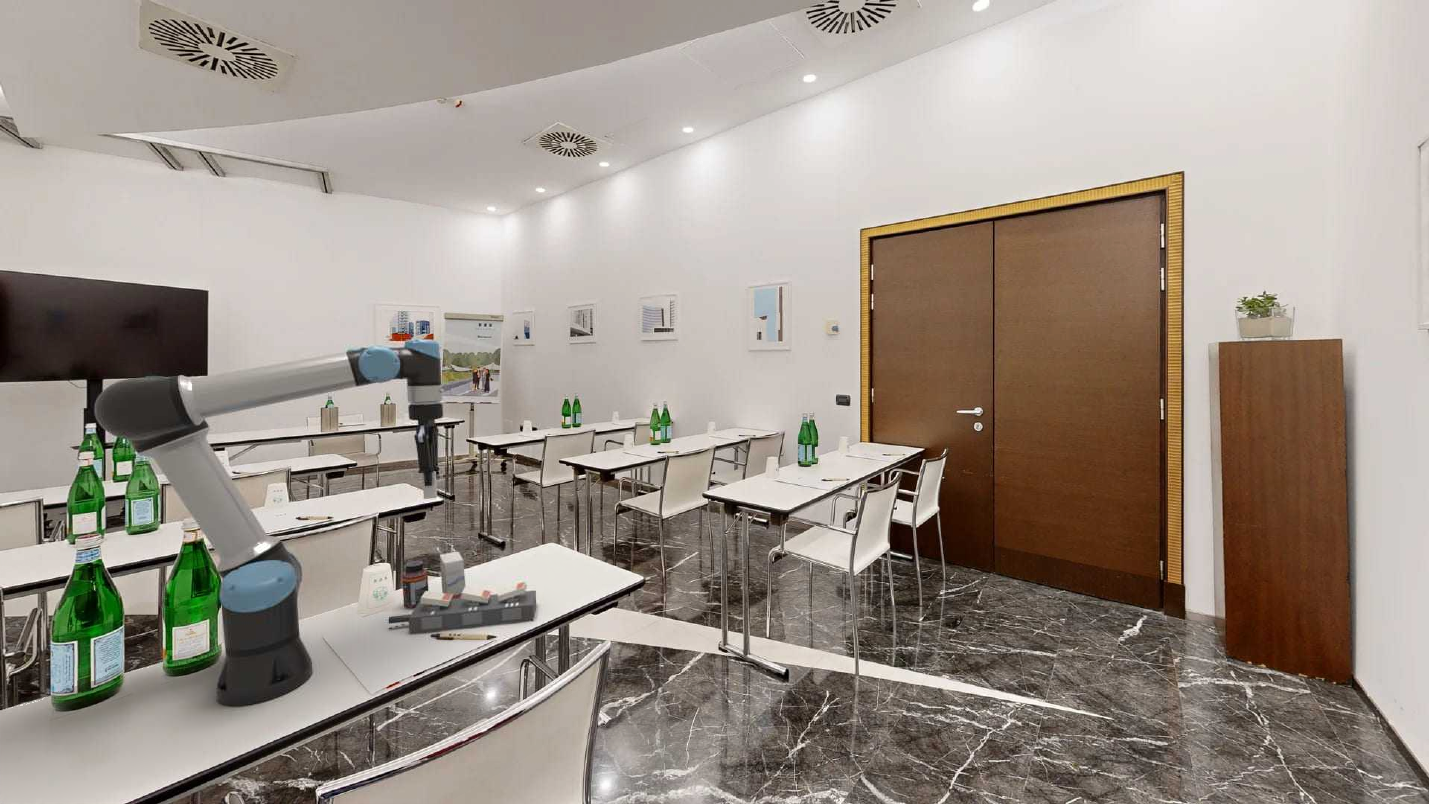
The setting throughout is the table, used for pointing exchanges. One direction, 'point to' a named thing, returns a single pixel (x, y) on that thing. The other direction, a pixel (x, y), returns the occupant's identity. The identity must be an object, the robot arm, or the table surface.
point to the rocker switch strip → (469, 613)
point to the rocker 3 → (512, 591)
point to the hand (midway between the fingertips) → (430, 497)
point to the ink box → (452, 574)
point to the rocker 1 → (436, 598)
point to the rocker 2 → (475, 595)
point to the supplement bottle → (414, 583)
